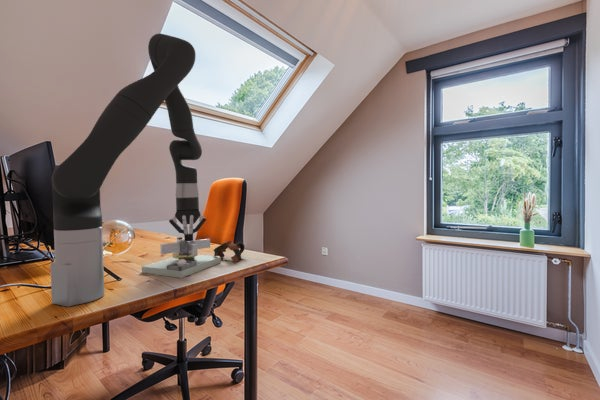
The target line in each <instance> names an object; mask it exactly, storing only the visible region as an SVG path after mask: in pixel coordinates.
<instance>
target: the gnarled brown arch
mask: <svg viewBox="0 0 600 400" xmlns="http://www.w3.org/2000/svg"><path fill="white" fill-rule="evenodd" d="M227 249H229V250H230V251H232V252H233V253H234V255H233V256H231V260H232V263H233V264H234V263H236V262H238V261H241V260H242V253H244V251H245V243H243V242H242V241H238V242H236V243H234V242H232V240H228V241H226V242H223V243H222V244H219V245H218V246H217V247H215V248H214V249H213V251H214V253H213V254H214V255H213V256H215V257H220V259H223V258H224V257H225V252H227Z"/></svg>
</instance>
